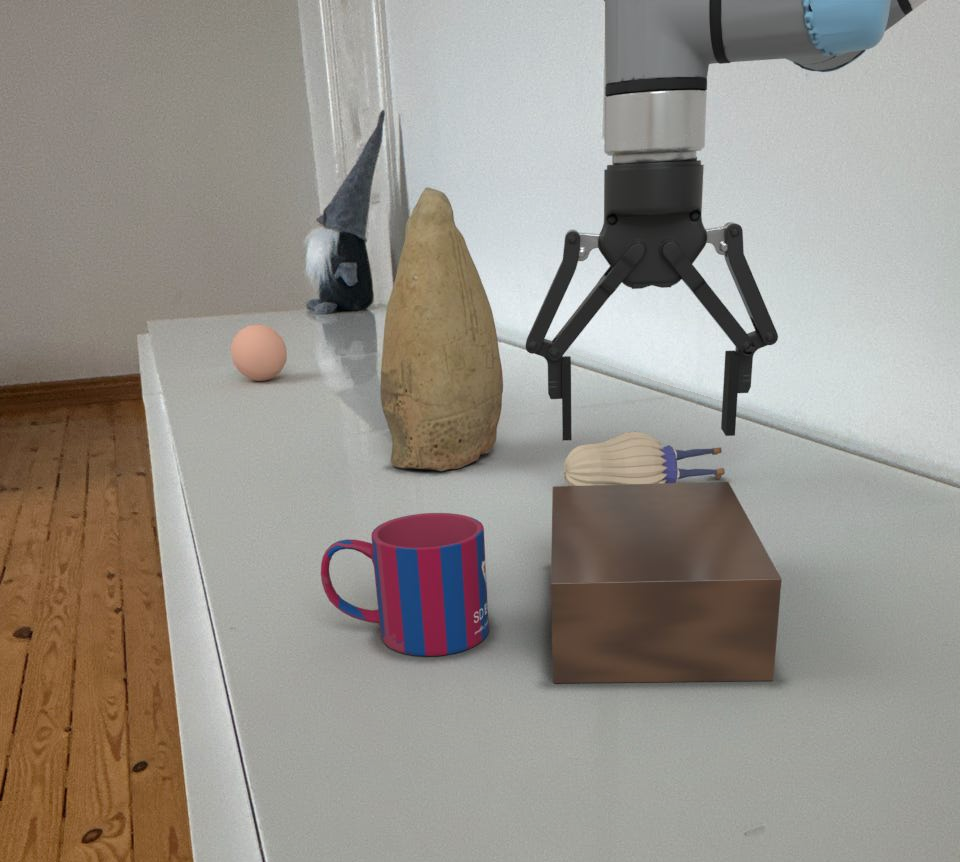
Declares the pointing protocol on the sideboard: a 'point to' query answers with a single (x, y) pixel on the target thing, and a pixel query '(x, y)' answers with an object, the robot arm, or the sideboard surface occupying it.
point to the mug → (423, 583)
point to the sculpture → (439, 348)
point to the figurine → (631, 462)
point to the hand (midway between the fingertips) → (646, 434)
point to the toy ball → (258, 352)
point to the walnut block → (659, 586)
